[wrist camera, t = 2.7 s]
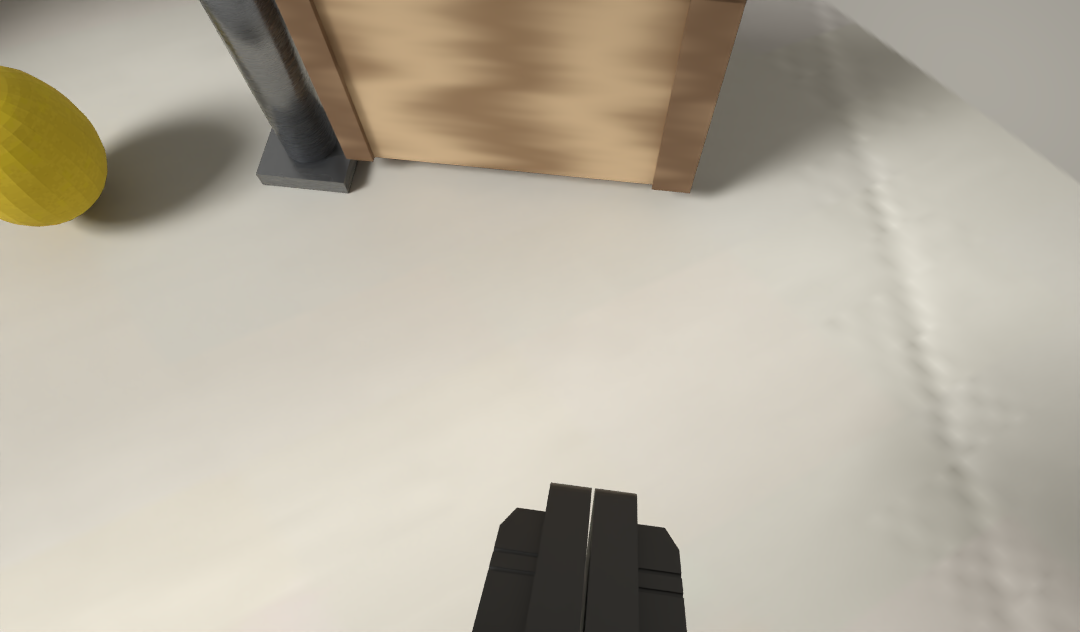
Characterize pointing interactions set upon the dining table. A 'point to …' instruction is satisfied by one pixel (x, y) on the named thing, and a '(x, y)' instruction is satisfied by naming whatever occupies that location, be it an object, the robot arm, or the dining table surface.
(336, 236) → the dining table surface
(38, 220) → the lemon
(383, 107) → the gate
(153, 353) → the dining table surface
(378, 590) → the dining table surface
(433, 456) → the dining table surface
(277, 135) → the grey upright posts
